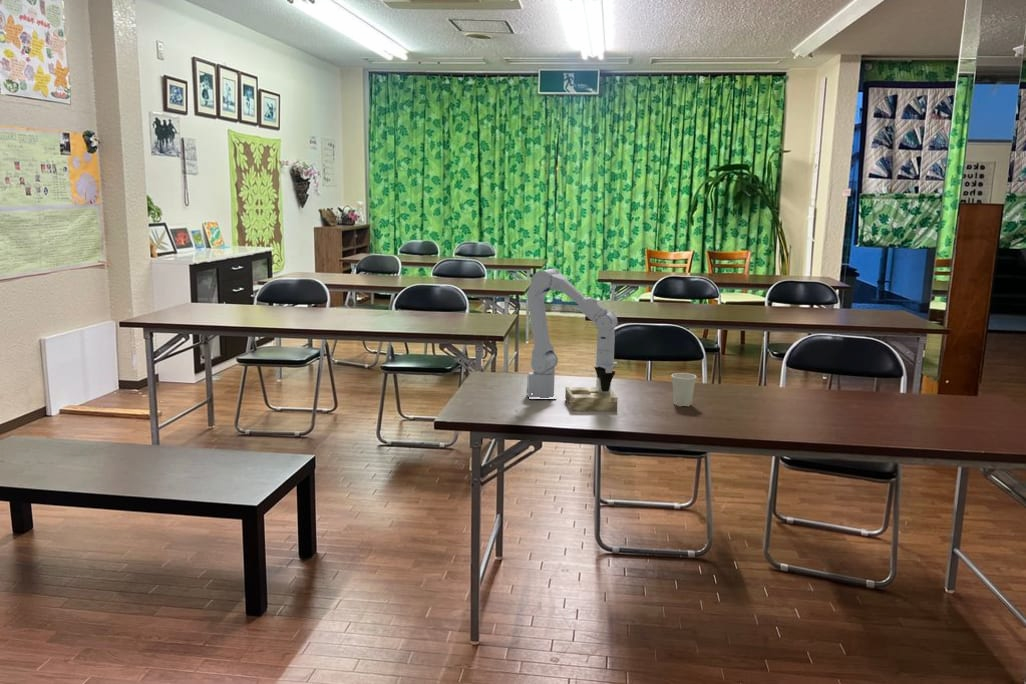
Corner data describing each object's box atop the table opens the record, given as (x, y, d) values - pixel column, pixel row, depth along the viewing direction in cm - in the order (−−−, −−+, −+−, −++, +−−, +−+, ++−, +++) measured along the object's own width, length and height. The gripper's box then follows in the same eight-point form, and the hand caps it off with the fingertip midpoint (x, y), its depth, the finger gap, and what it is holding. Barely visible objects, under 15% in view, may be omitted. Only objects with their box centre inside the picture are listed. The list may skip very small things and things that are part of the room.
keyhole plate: (571, 411, 251) (571, 397, 250) (565, 400, 264) (565, 387, 264) (617, 410, 252) (617, 397, 251) (608, 400, 266) (609, 387, 265)
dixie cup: (697, 407, 257) (699, 378, 256) (672, 407, 258) (673, 378, 256) (692, 401, 266) (693, 373, 264) (667, 401, 266) (669, 372, 264)
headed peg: (597, 405, 256) (598, 378, 255) (595, 402, 260) (596, 376, 259) (609, 405, 257) (610, 378, 255) (607, 402, 261) (608, 376, 259)
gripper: (622, 353, 248) (620, 394, 251) (613, 345, 263) (611, 384, 265) (600, 353, 248) (598, 394, 250) (592, 345, 262) (591, 384, 264)
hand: (603, 389), depth 258 cm, fingers closed on headed peg, 4 cm apart
